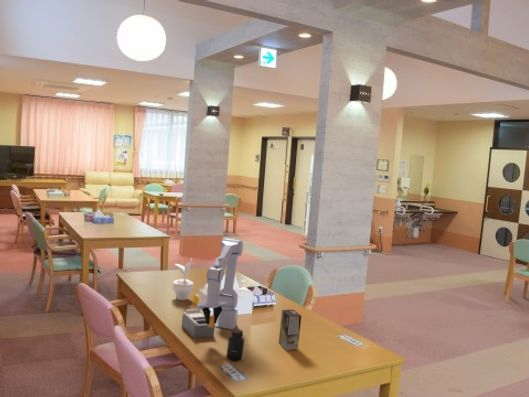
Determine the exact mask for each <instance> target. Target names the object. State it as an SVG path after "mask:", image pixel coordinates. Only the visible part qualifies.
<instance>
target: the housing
mask: <svg viewBox="0 0 529 397" xmlns="http://www.w3.org/2000/svg"><path fill="white" fill-rule="evenodd" d="M200 312H201V313H202V314H203V315H204V313H203V310H200ZM181 316H182V318H181V327H182V328H183V329H184V330H185V331H186V332H187V333H188V334H189V335H190V336H191V337H192V338H193V339H197V338H198V339H199V338H200V339H201V338H209V337H214V336H215V335H214V334H215V325H216V324H214V327H212V328H210V327H207V324H206V322H205V318H198V319H192V318H191V317H190V316H189V315H188V314H187V313H186V311H183V314H182V315H181Z"/></svg>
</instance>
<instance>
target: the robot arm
mask: <svg viewBox="0 0 529 397" xmlns="http://www.w3.org/2000/svg"><path fill="white" fill-rule="evenodd" d="M220 248H221V252H220V256H217V257H216V258H215V261H213V262H214V263H213V264H212V266H211V267H209V268H208V269H207V272H206V284H207V290H206V301H205V302H202V303H196V307H195V309H200V310H201V309H202V310H201V311H202V312H203V313H204V316H205V322H206V324H209V317H210V315H211V313H213V314H212V315H215V319H214V324H215V327H216V328H221V329H222V328H223V329H226V330H227V329H228V330H233V329H236V326H237V325H238V323H237V322H238V314H239V313H238V312H239V311H238V309H236V308H237V306H238V298H239V297H238V292H236V290H235V289H234V286H235V285H234V284H235V278H236V271H237V265H238V264H237V263H238V258H239V257H241V256H242V255H243V254H242V253H243V248H244V242H243V240H242V239H233V238H226V237H223V238H222V239H221V243H220ZM224 275H225V277H224ZM223 278H224V279H223ZM223 280H224V282H223V288H222V289H221V284H222V281H223ZM211 309H212V310H213V311H211ZM215 327H214V328H215Z"/></svg>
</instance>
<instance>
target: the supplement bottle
mask: <svg viewBox="0 0 529 397" xmlns="http://www.w3.org/2000/svg"><path fill="white" fill-rule="evenodd" d="M243 334H244V331H243V329H239V328H238V329H237V328H234V329H231V333H230V336H229V337H228V340H227V349H226V359H227V360H229V361H231V362H240V361H242V360H243V355H244V354H243V353H244V347H245V338H244V335H243Z"/></svg>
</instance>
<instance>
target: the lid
mask: <svg viewBox="0 0 529 397" xmlns="http://www.w3.org/2000/svg"><path fill="white" fill-rule="evenodd" d="M200 311H201V309H197V308H192V309H190V308H188V309H186V311H185V312H186V313H187V314H188V315H189V316H190V317H191V318H192V319H198V318H205V316H204V315H203V314H202V313H201V312H200Z"/></svg>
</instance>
